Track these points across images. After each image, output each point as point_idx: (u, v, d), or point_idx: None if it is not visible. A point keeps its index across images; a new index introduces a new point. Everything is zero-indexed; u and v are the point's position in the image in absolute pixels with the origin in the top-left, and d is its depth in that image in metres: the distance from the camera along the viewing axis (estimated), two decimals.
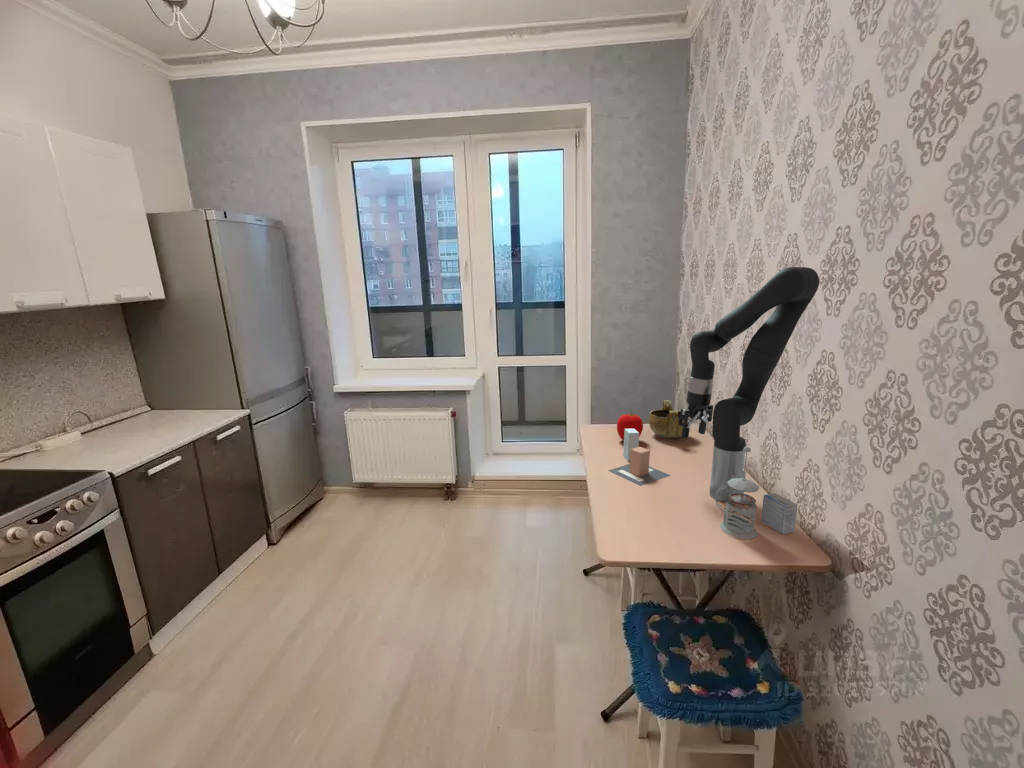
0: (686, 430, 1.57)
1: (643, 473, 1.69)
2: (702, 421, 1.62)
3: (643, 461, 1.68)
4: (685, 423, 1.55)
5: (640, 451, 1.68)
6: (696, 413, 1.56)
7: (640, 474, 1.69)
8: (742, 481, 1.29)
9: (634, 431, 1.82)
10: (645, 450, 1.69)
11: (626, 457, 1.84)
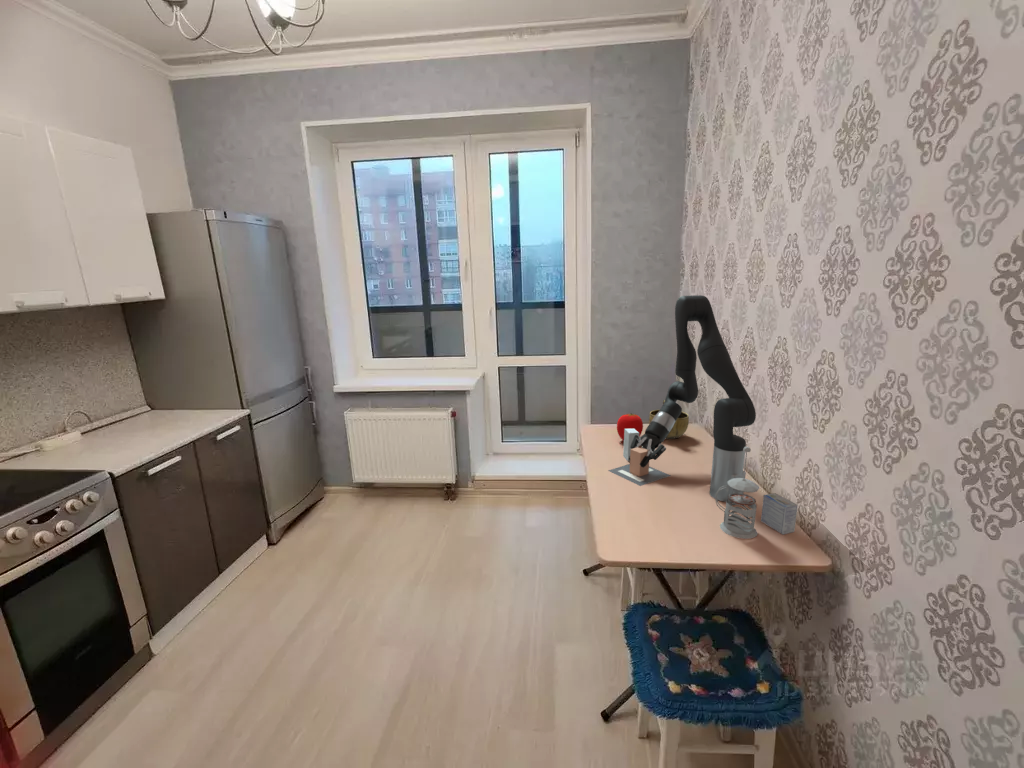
0: None
1: (643, 473, 1.69)
2: None
3: None
4: (632, 445, 1.75)
5: (640, 451, 1.68)
6: None
7: (640, 474, 1.69)
8: (742, 481, 1.29)
9: (634, 431, 1.82)
10: (645, 450, 1.69)
11: (626, 457, 1.84)
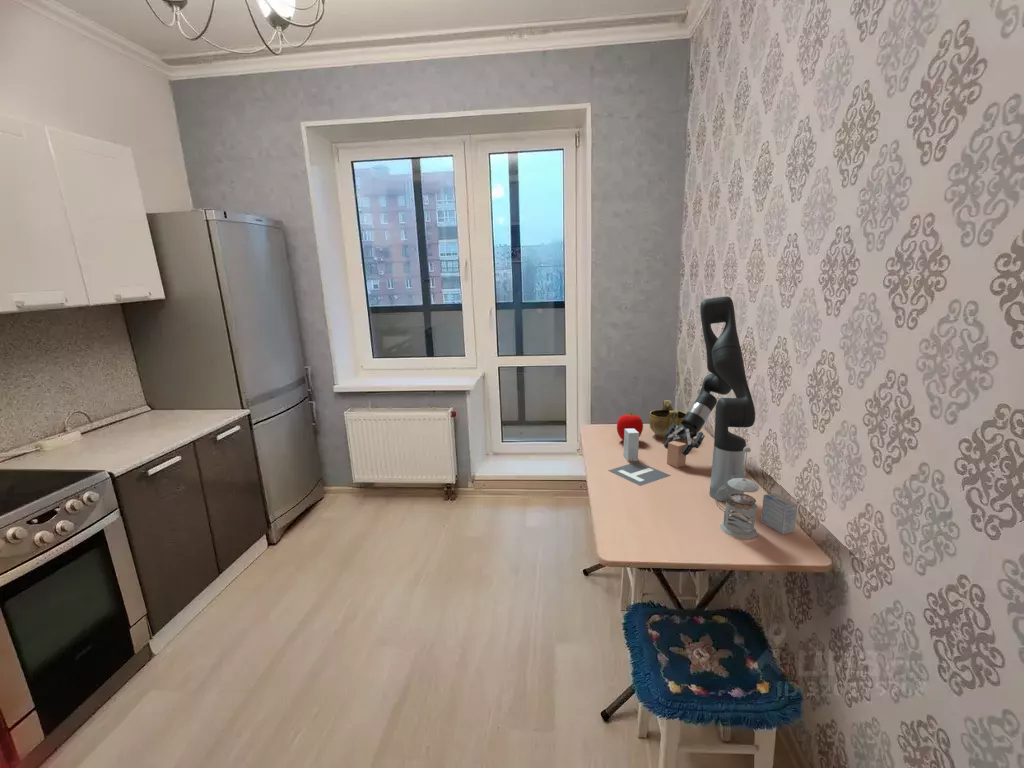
0: (667, 440, 1.82)
1: (680, 465, 1.77)
2: None
3: (681, 454, 1.76)
4: (667, 432, 1.83)
5: (678, 444, 1.76)
6: None
7: (677, 466, 1.76)
8: (742, 481, 1.29)
9: (634, 431, 1.82)
10: (682, 443, 1.77)
11: (626, 457, 1.84)
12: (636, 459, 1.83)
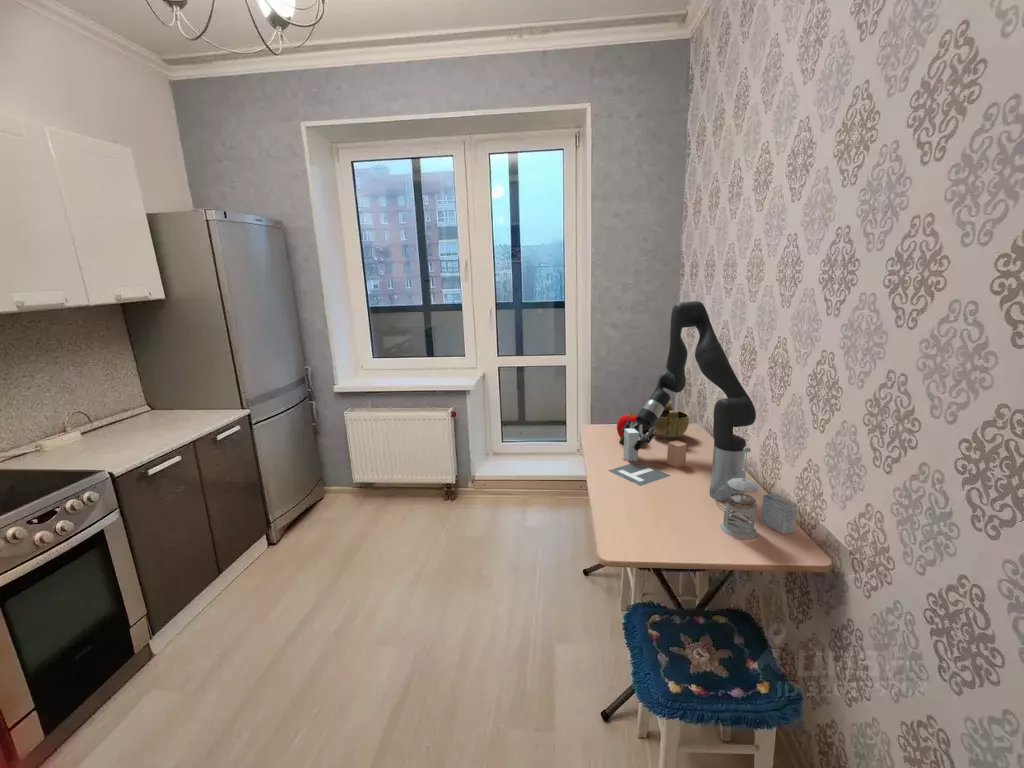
0: (622, 436, 1.88)
1: (680, 465, 1.77)
2: None
3: (681, 454, 1.76)
4: (623, 428, 1.89)
5: (678, 444, 1.76)
6: None
7: (677, 466, 1.76)
8: (742, 481, 1.29)
9: (634, 431, 1.82)
10: (682, 443, 1.77)
11: (626, 457, 1.84)
12: (636, 459, 1.83)
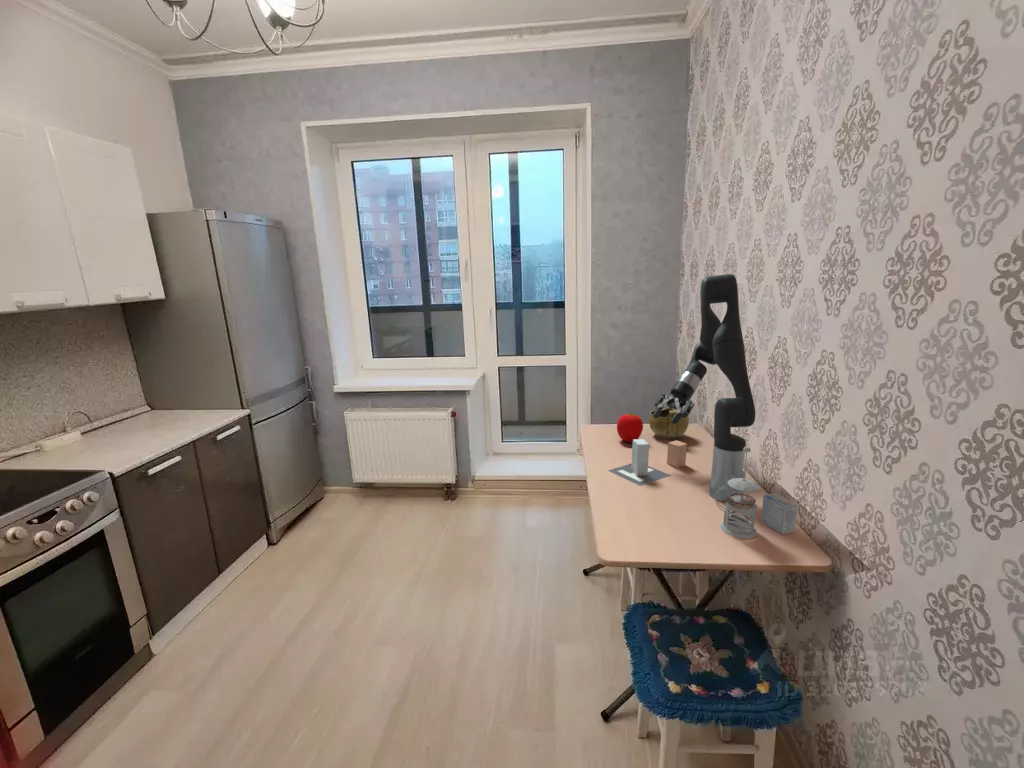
0: (656, 409, 1.78)
1: (680, 465, 1.77)
2: None
3: (681, 454, 1.76)
4: (656, 402, 1.80)
5: (678, 444, 1.76)
6: None
7: (677, 466, 1.76)
8: (742, 481, 1.29)
9: (643, 442, 1.68)
10: (682, 443, 1.77)
11: (635, 470, 1.70)
12: (646, 472, 1.69)
